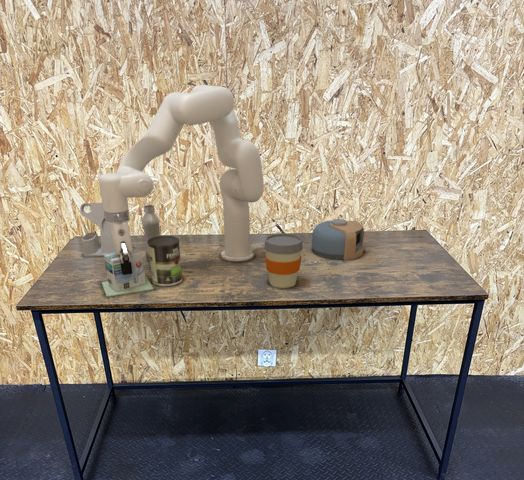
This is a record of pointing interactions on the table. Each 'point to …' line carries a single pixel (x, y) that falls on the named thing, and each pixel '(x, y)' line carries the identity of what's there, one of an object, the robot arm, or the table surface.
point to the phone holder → (91, 239)
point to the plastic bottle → (150, 225)
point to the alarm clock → (338, 239)
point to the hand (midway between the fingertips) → (125, 269)
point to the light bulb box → (115, 272)
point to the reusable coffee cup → (283, 259)
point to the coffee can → (165, 260)
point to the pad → (141, 288)
